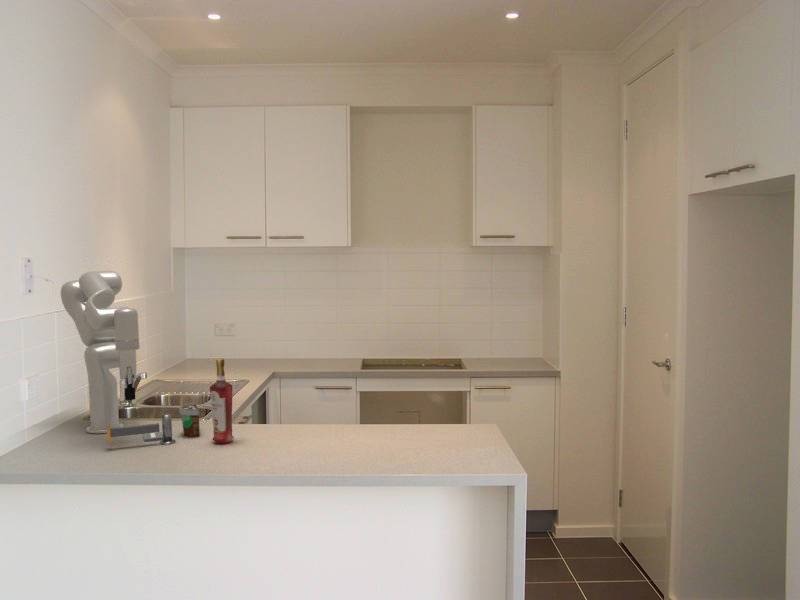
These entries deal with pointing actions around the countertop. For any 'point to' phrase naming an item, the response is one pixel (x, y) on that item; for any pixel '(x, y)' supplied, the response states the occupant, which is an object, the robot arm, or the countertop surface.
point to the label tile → (152, 437)
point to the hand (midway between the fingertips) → (130, 399)
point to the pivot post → (167, 430)
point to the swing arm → (131, 430)
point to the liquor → (221, 406)
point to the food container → (190, 420)
